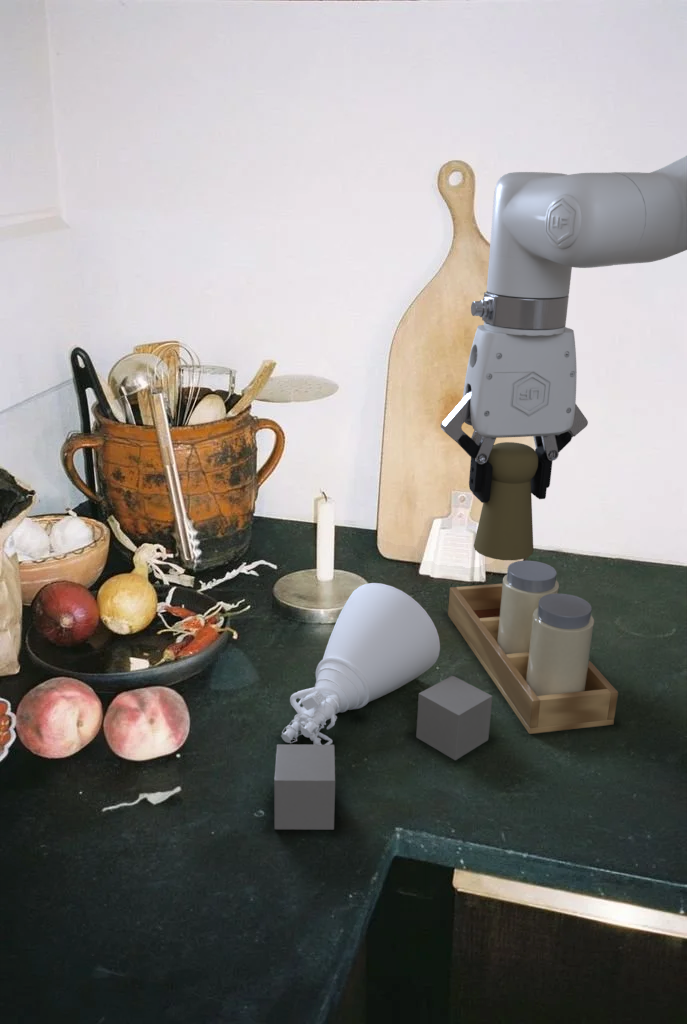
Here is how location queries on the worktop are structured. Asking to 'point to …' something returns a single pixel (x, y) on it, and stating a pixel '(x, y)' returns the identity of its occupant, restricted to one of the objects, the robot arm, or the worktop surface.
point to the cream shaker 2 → (560, 645)
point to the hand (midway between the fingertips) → (508, 494)
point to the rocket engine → (366, 657)
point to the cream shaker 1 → (522, 602)
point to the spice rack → (479, 628)
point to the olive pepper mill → (508, 504)
